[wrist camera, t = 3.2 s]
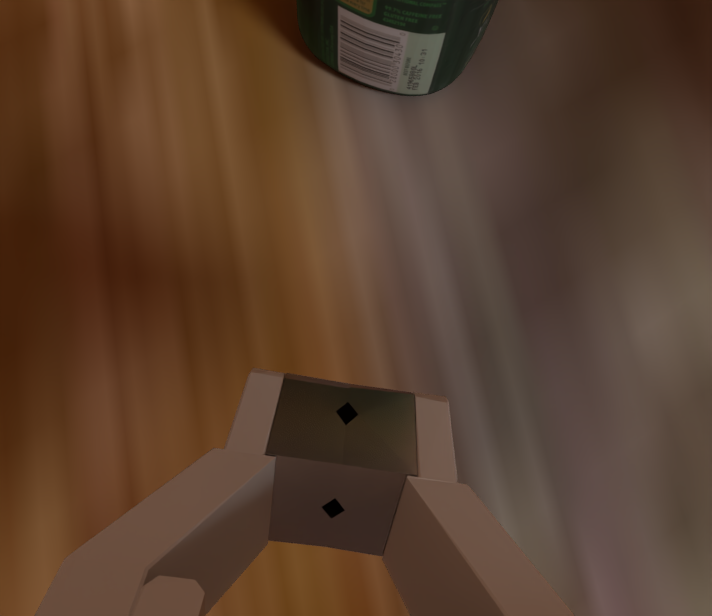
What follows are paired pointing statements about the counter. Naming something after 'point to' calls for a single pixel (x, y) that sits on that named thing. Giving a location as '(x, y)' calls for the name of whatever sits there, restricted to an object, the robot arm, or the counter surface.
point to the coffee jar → (395, 40)
